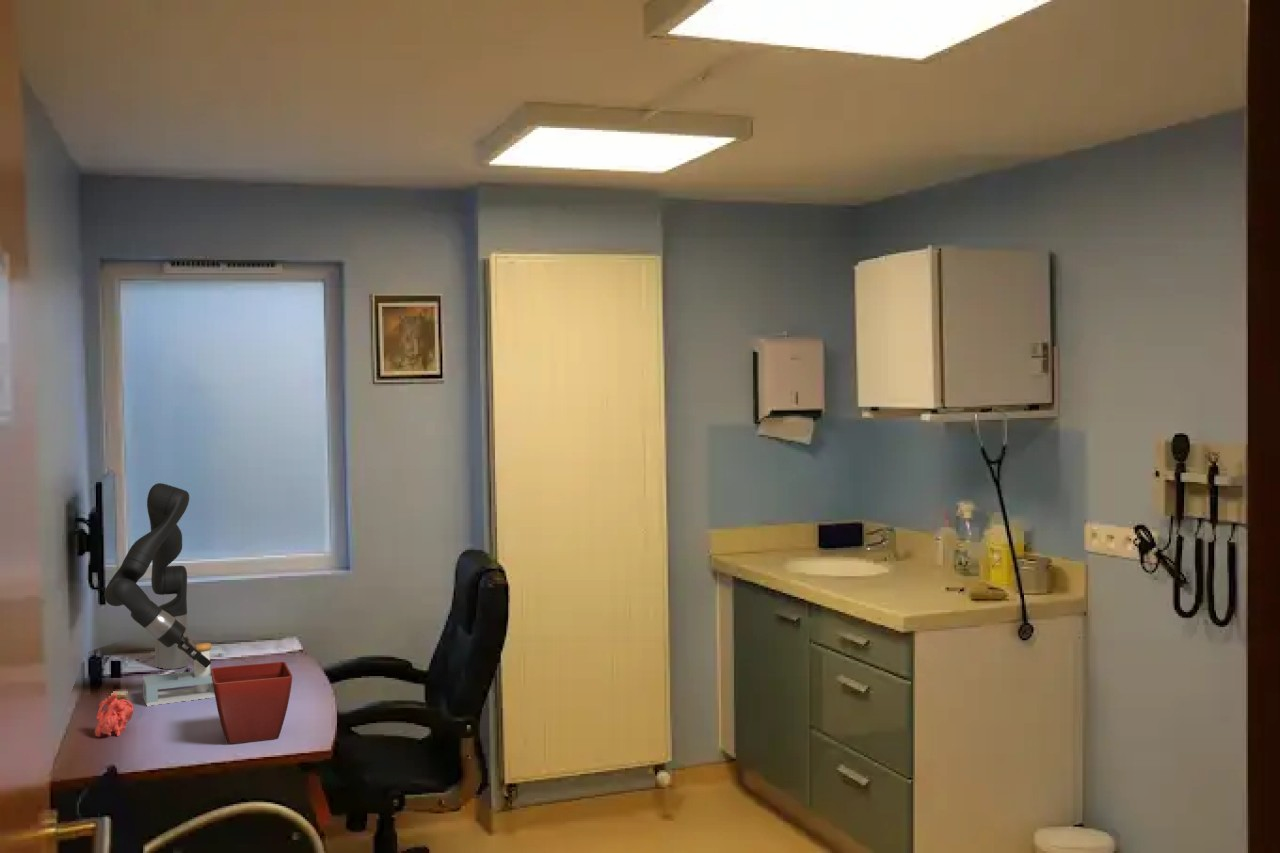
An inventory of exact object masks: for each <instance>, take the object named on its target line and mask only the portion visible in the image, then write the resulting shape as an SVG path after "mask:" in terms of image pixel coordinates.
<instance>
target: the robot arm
mask: <svg viewBox="0 0 1280 853" xmlns="http://www.w3.org/2000/svg"><path fill="white" fill-rule="evenodd" d="M147 494H148V495H147V499H146V508H147V512H148V513H147V514H148V517H149V518H148V519H149V523H150V531H149V532H148V533H146V534H144V535H142V536H141V537H140V538H138V539H137V540H135V542H134V543H133V544H132V546H130V548H129V550H128V552H127V554H126V555H125V557H124V559H123V561H122V562H121V565H120V567H119V568H118V570H117V571H116V572H115V574H114V575H112V576H113V577H112V578H111V579H110V581H109V582H108V584H107V585H106V586H105V590H104V594H103V595H104V600H105V602H106V603H107V604H108V605H110V606H111V607H120V606H124V607H126V609H128V610H129V612H130V616H131V618H132V619H133V621H135V622H136V623H138V624H139V625H140V626H141V627H142V628H144V630H146V631H147V632H148V633H149V635H151V636H152V637H154V656H155V657H154V658H155V659H154V662H155V663H154V664H155V666H156V667H160V668H163V669H162V670H175V669H176V670H177V669H180V668H186V667H188V666H189V657H190V658H192V660H193V661H194V660H197V661H198V662H199V663H200V664H202V665H203V666H204V667H208V666H209V665H210V666H211V664H212V662H211V659H210V660H208V659H207V658H206V657H205V656H204V655H202V653H201V652H199V651H198V647H196V646H195V645H194V644H196V643H195V642H193V641H192V639H190V637H188V634H189V633H188V609H187V608H188V607H187V606H188V603H187V593H188V588H187V587H188V572H187V568H186V566H184V565H170V564H172V562H174V561H175V560H176V559H177V557H179V555H180V554H181V552H182V550H183V534H182V531H181V530H182V529H180V527H179V526H178V523H179V522H180V520H181V518H182V517H183V516H184V514H185V512H186V510H187V508H188V506H189V502H190V493H189V492H188V491H187V490H185V489H182V488H180V487H176V486H172V485H169V484H165V483H161V482H160V483H159V482H158V483H155V484H154V485H152V487H150V489H149V491H148V493H147ZM150 565H152V566H151V579H150V581H151V583H150V584H151V588H152V592H153V593H154V594H155V595H161V596H162V595H163V596H165V595H167V596H168V595H175V597H174V598H173V599H171V600H170V601H168V602H166V603H163V604H161V605H159V606H158V605H157V604H156V603H155V602H154V601H152V600H151V599H150V598H149V596H148V595H147V594H146V593H145V590H143V589H142V588H141V586H139V585H138V584H137V583H138V581H140V579H142V577H144V575H145V574H146V572H147V571H148V569H149V567H150ZM194 652H197V653H196V654H195V655H194ZM156 667H155V668H156ZM160 668H159V669H160Z"/></svg>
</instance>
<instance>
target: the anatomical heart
mask: <svg viewBox="0 0 1280 853" xmlns="http://www.w3.org/2000/svg"><path fill="white" fill-rule="evenodd" d="M104 699H105V700H102V701H101V702H100V703H99V704H98V706H99V708H98V711H97V712H96V720H98V721H97V724H96V726H95V729H94V734H95V736H96V737H98V738H101V735H102V734H104V735H105V734H106V735H108V736H111V735H112V733H111V732H114V734H115V735H116V736H118V737H119V736H120V735H121V734H122V733H123V732H124V731H125V730H126V729H127V723H128V722H130V721H131V720H132V717H133V715H134V705H133V703H132V702H131V701H130V700H127V699H125V698H121V699H118V695H117V693H115V692H113V694H112V696H111V695H108V697H107V698H106V697H105V698H104ZM104 706H107V707H106V709H104V710H103V708H104Z"/></svg>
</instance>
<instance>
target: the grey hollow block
mask: <svg viewBox="0 0 1280 853" xmlns="http://www.w3.org/2000/svg"><path fill="white" fill-rule="evenodd" d="M211 669H212V668H210V676H205V677H197V678H194V670H192V671H183V672H173V673H164V674H158V675H157V674H156V675H148V676H147V675H146V676H142V698H143V700H144V703H145V705H147V706H146V707H152V706H151V705H154V706H159V705H158V704H162V705H167V704H166V703H170V704H175V703H174V702H178V703H182V702H181V701H186V702H192V701H191V700H194V701H199V700H198V699H202V700H206V699H205V698H210V699H213V698H212V697H215V694H214V688H213V682H212V675H211ZM208 683H210V691H209V692H205V693H195V692H194V687H190V686H194V685H200V684H208ZM182 687H183V688H182ZM184 687H186V688H184ZM174 688H179V689H174ZM164 689H166V690H164ZM167 689H171V690H167ZM159 690H161V691H159Z"/></svg>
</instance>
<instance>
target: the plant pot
mask: <svg viewBox="0 0 1280 853" xmlns="http://www.w3.org/2000/svg"><path fill="white" fill-rule="evenodd" d="M210 669H211V675H212V682H213V688H214V694H215V698H214V699H215V702H216V703H215V704H216V708H217V713H218V718H219V722H220V727H221V729H222V732H223V736H224V738H225V742H226V743H227V744H237V743H246V742H247V743H249V742H256V741H257V742H258V741H259V742H260V741H266V740H267V741H268V740H276V739H278V738H279V737H280V735H281V732H282V728H283V726H284V722H285V719H286V714H287V710H288V706H289V702H290V696H291V691H292V682H293V675H292V673H291V672H292V671H291V670H290V668H289V666H288V665H287V662H285V661H277V662H265V663H264V662H263V663H254V664H243V665H242V664H240V665H229V666H220V667H211V668H210Z"/></svg>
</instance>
